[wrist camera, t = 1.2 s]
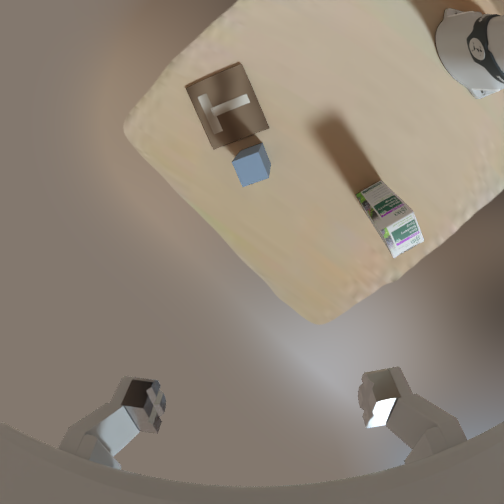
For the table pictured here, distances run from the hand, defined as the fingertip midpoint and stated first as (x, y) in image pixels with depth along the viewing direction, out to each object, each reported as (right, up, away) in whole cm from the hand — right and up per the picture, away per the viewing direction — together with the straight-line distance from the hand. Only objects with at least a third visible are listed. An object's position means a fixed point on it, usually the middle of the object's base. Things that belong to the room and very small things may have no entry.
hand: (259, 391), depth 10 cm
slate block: (0, +21, +37) cm, 42 cm away
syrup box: (+22, +15, +38) cm, 47 cm away
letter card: (-4, +29, +32) cm, 44 cm away
